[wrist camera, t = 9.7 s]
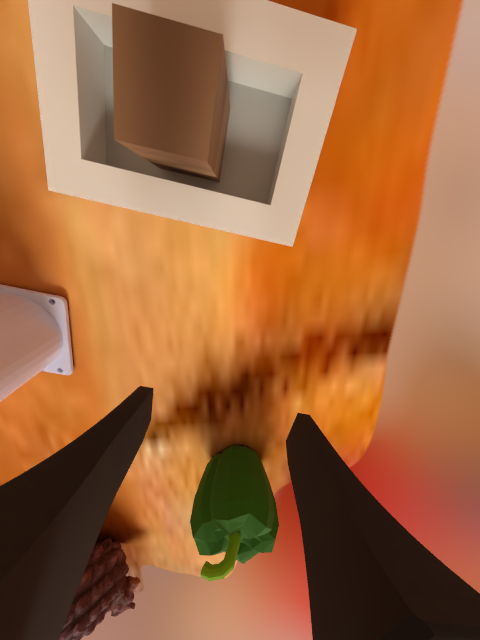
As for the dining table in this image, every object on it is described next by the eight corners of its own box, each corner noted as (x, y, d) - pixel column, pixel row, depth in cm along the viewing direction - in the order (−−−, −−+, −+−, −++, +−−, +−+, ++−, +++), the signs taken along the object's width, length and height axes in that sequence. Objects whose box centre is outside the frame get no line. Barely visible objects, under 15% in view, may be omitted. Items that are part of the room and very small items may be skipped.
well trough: (81, 195, 16) (48, 190, 13) (69, -12, 12) (19, -79, 9) (284, 242, 17) (292, 246, 15) (333, 67, 13) (357, 28, 11)
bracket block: (160, 168, 15) (114, 139, 10) (164, 90, 14) (111, 2, 8) (219, 182, 15) (207, 161, 10) (230, 107, 14) (223, 34, 8)
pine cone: (31, 536, 35) (-44, 649, 26) (43, 502, 31) (-39, 619, 22) (141, 564, 38) (110, 673, 29) (164, 537, 35) (136, 651, 26)
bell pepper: (282, 444, 26) (304, 564, 17) (256, 486, 30) (263, 606, 20) (212, 427, 25) (196, 544, 16) (193, 472, 28) (171, 592, 19)
